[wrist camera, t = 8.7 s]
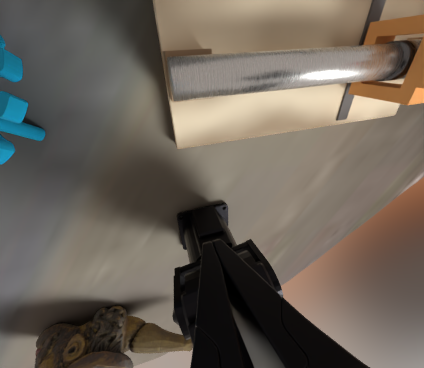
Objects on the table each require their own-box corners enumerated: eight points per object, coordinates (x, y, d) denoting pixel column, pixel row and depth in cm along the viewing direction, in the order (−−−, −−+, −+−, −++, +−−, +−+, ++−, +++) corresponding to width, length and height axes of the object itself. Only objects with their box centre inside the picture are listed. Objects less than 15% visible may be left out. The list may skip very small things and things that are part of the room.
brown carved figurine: (27, 320, 27) (-22, 433, 19) (184, 278, 32) (197, 354, 24) (57, 345, 32) (27, 443, 24) (188, 306, 37) (200, 376, 29)
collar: (364, 91, 20) (461, 107, 14) (348, 93, 19) (439, 111, 13) (389, 21, 17) (527, 3, 11) (370, 22, 16) (502, 3, 10)
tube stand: (382, 112, 25) (444, 127, 20) (175, 143, 19) (186, 175, 14) (440, -24, 18) (557, -55, 13) (147, -33, 13) (148, -92, 8)
